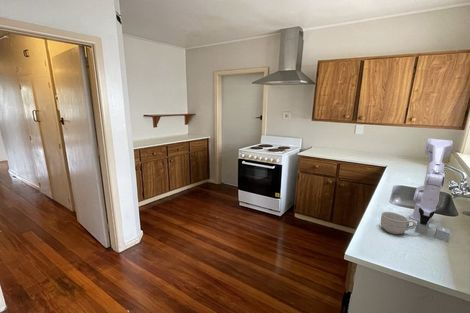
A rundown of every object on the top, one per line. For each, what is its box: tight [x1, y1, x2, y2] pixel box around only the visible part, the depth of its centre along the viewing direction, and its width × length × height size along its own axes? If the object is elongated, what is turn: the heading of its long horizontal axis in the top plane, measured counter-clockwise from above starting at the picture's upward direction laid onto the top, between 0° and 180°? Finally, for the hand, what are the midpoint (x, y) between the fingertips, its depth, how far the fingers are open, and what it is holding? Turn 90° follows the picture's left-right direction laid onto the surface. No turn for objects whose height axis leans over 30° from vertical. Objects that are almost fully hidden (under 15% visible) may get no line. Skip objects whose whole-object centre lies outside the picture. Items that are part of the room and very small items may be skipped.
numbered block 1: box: [434, 225, 451, 243], centre depth 106 cm, size 4×4×5 cm
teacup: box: [380, 211, 417, 235], centre depth 110 cm, size 14×11×8 cm
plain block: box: [414, 220, 430, 237], centre depth 111 cm, size 4×4×4 cm
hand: (423, 224), depth 110 cm, fingers closed, pressing on plain block
